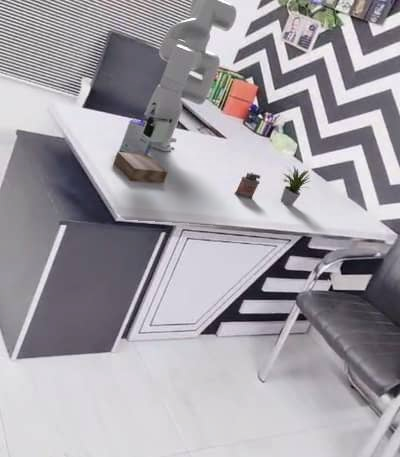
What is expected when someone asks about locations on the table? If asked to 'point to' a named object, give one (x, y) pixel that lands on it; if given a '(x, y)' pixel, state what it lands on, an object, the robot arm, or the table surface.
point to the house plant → (293, 187)
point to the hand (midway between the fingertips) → (153, 135)
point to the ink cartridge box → (135, 139)
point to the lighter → (247, 186)
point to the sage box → (158, 130)
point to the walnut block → (140, 168)
